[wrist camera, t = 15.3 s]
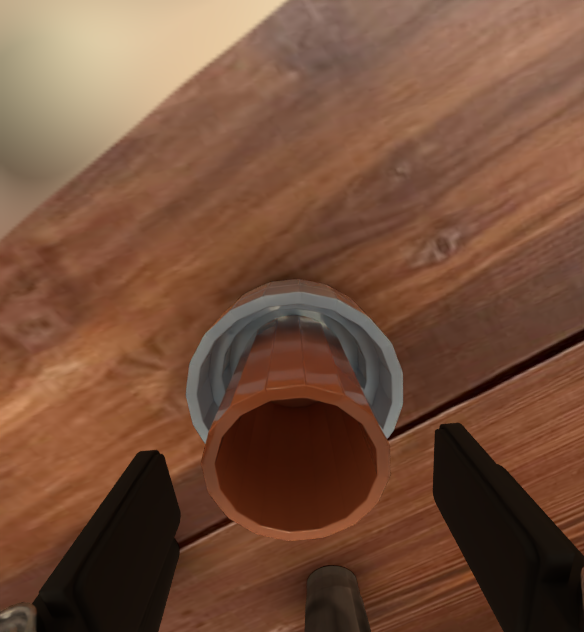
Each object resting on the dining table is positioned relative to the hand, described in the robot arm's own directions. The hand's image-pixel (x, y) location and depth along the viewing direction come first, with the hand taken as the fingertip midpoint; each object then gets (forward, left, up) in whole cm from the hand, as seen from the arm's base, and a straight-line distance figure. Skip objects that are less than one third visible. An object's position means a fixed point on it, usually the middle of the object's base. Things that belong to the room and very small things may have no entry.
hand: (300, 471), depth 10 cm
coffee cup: (0, 0, -10) cm, 9 cm away
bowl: (0, 0, -10) cm, 10 cm away
